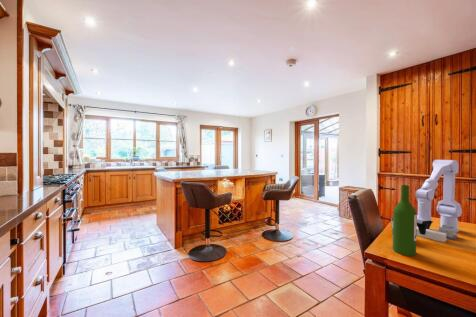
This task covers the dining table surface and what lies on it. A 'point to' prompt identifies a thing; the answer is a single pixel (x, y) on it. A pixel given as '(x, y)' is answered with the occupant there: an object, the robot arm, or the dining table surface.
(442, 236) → the rail
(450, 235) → the stand
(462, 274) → the dining table surface
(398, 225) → the wine bottle
